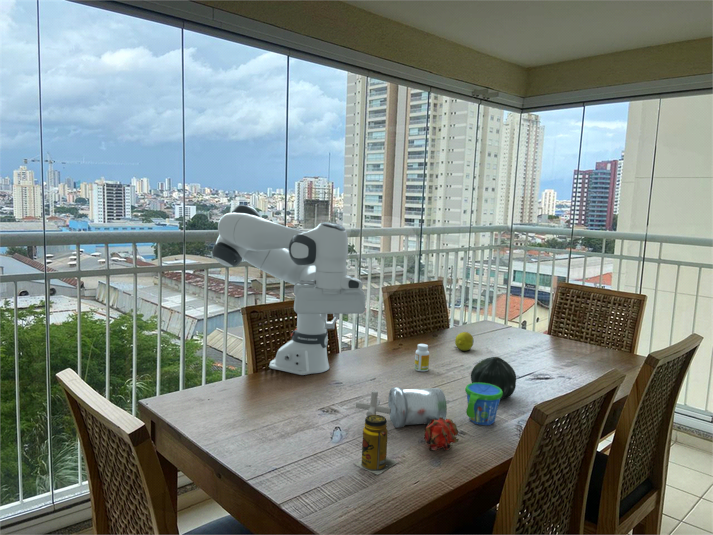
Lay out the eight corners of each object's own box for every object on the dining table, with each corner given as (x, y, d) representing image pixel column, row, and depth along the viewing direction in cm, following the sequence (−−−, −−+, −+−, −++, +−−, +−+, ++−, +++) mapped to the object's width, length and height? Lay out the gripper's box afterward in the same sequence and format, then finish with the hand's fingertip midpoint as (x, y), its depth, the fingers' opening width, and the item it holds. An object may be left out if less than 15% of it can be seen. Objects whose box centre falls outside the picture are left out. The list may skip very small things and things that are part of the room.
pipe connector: (385, 435, 145) (388, 400, 144) (350, 428, 147) (353, 394, 146) (392, 421, 155) (395, 388, 153) (359, 414, 157) (362, 382, 156)
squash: (490, 368, 190) (478, 343, 181) (528, 382, 180) (518, 355, 171) (470, 400, 184) (457, 375, 175) (509, 415, 174) (497, 390, 165)
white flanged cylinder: (399, 435, 146) (401, 397, 145) (386, 416, 159) (388, 380, 157) (447, 433, 149) (450, 395, 148) (430, 414, 162) (433, 379, 160)
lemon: (466, 354, 226) (467, 336, 225) (450, 350, 231) (451, 332, 230) (477, 349, 235) (479, 331, 234) (461, 345, 239) (463, 328, 238)
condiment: (353, 464, 128) (356, 417, 126) (375, 453, 134) (377, 408, 133) (377, 475, 123) (380, 427, 122) (398, 463, 130) (401, 416, 128)
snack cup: (481, 434, 148) (484, 399, 147) (451, 421, 156) (453, 388, 154) (510, 420, 159) (513, 388, 158) (481, 409, 166) (483, 378, 165)
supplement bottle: (430, 368, 204) (431, 344, 203) (425, 372, 199) (427, 347, 198) (416, 366, 206) (418, 342, 205) (412, 370, 201) (414, 345, 200)
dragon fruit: (453, 445, 144) (431, 467, 135) (431, 421, 147) (408, 441, 138) (470, 428, 139) (448, 450, 130) (447, 404, 142) (424, 424, 133)
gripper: (295, 282, 142) (293, 331, 144) (368, 282, 147) (365, 331, 149) (292, 278, 149) (291, 326, 150) (363, 279, 153) (360, 325, 155)
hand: (328, 328), depth 150 cm, fingers closed
